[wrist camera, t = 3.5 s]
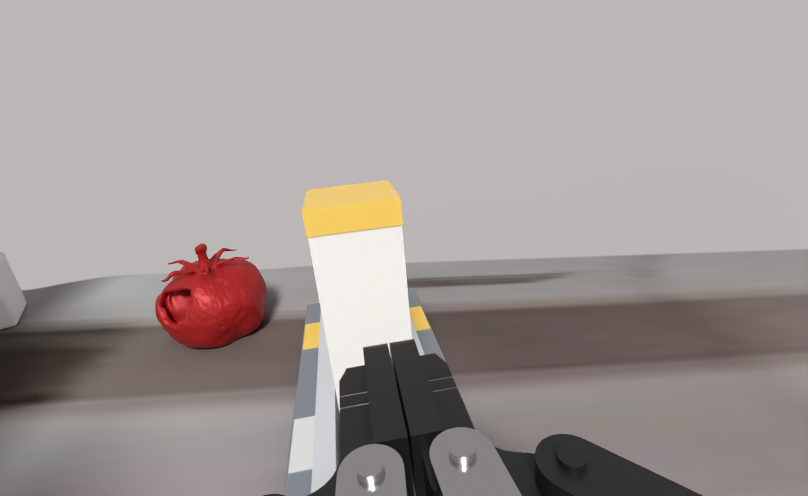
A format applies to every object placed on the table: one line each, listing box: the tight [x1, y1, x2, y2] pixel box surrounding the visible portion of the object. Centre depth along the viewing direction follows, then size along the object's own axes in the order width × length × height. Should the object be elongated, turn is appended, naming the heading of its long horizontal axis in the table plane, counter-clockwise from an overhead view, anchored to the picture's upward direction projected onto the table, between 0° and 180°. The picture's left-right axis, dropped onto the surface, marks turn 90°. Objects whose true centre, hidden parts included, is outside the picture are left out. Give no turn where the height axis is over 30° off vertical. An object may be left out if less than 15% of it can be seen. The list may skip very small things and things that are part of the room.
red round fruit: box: [155, 244, 266, 348], centre depth 39 cm, size 10×10×9 cm
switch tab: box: [302, 180, 412, 413], centre depth 21 cm, size 4×5×15 cm
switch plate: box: [284, 289, 476, 496], centre depth 30 cm, size 24×11×3 cm, turn 9°
